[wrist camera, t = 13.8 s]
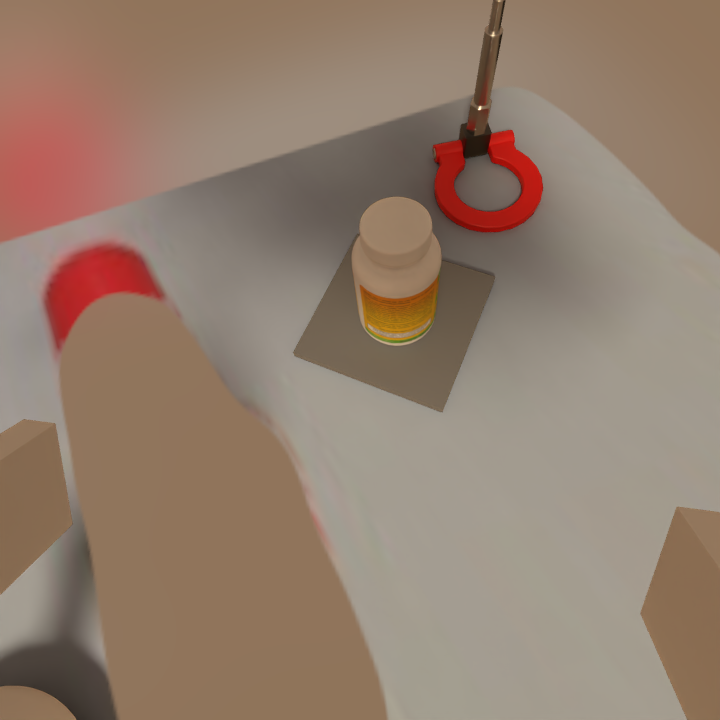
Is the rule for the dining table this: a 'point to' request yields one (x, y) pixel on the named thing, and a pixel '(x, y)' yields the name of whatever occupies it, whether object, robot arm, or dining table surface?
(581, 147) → the dining table surface
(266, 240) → the dining table surface
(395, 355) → the coaster
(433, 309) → the supplement bottle
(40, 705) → the flower in vase
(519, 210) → the tow hook
